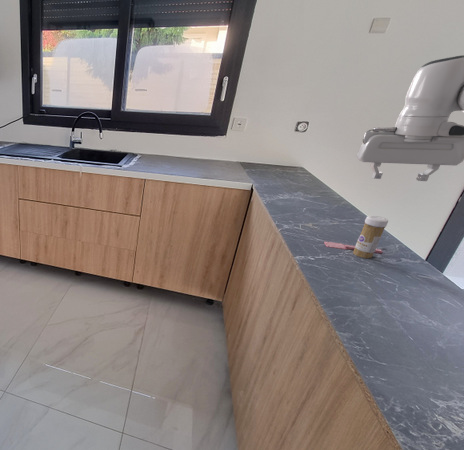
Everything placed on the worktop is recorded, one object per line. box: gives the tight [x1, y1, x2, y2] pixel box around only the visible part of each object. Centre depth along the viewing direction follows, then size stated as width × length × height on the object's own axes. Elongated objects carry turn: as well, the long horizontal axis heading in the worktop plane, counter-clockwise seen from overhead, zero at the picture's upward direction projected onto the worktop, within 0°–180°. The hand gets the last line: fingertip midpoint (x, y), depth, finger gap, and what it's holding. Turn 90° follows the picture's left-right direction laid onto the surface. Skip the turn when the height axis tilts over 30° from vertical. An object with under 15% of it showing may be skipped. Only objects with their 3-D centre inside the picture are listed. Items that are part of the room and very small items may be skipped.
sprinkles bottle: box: [352, 215, 389, 259], centre depth 91 cm, size 5×5×14 cm
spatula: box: [323, 241, 383, 255], centre depth 99 cm, size 14×4×1 cm, turn 65°
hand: (398, 179), depth 86 cm, fingers open, 8 cm apart
